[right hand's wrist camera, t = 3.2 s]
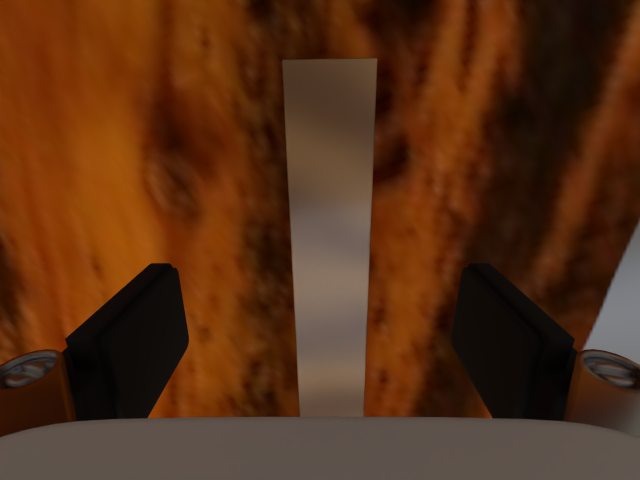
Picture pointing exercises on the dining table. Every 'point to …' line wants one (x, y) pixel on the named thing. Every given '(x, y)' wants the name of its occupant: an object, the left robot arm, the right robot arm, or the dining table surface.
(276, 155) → the dining table surface
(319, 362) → the beam
